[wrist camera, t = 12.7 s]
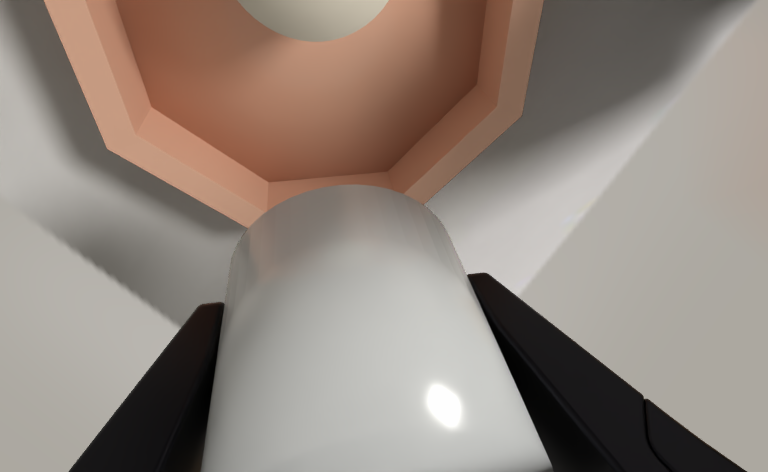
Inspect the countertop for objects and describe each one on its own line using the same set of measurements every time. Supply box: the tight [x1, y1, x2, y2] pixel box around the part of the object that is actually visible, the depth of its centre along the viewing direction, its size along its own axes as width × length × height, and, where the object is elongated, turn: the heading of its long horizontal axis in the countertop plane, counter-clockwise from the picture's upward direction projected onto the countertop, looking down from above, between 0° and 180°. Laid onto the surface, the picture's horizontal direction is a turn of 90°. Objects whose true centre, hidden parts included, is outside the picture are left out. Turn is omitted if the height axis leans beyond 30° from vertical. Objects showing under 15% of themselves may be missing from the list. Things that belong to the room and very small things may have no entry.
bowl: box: [44, 0, 544, 228], centre depth 15 cm, size 14×14×3 cm
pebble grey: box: [201, 184, 553, 472], centre depth 7 cm, size 4×4×4 cm
